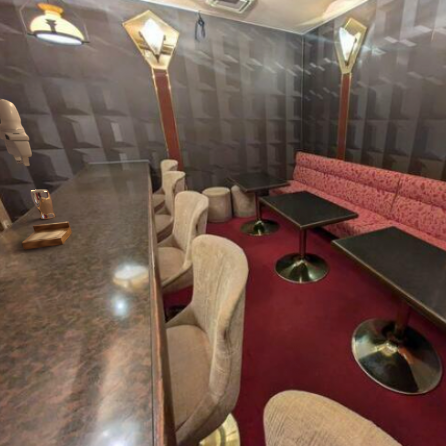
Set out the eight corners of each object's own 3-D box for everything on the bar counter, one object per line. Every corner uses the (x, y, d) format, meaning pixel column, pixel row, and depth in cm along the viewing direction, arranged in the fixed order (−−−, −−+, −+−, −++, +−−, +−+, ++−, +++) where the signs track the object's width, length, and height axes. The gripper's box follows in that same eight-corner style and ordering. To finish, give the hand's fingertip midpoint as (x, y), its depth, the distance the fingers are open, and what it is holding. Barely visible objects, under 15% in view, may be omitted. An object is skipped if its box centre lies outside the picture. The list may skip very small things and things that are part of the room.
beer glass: (54, 214, 138) (45, 188, 132) (59, 217, 134) (50, 190, 129) (37, 218, 132) (27, 190, 127) (42, 220, 129) (32, 192, 123)
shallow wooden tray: (24, 249, 100) (19, 237, 98) (37, 236, 112) (33, 225, 110) (63, 244, 106) (59, 232, 104) (72, 232, 117) (68, 221, 115)
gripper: (-4, 134, 120) (7, 163, 125) (10, 136, 111) (21, 167, 116) (15, 134, 125) (25, 162, 130) (29, 136, 116) (39, 166, 121)
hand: (23, 164), depth 123 cm, fingers open, 8 cm apart
